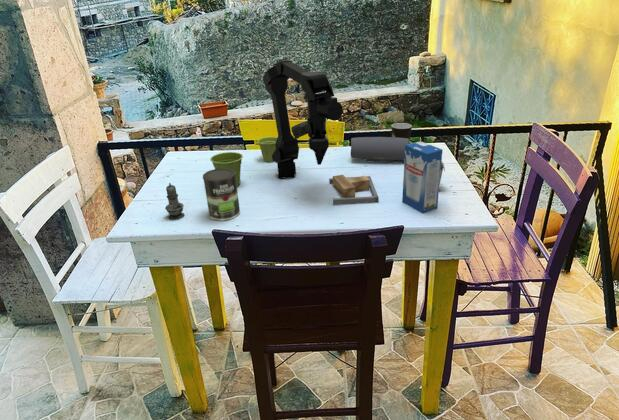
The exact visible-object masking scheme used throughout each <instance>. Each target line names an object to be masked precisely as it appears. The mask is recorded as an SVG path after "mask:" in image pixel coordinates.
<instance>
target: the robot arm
mask: <svg viewBox="0 0 619 420" xmlns="http://www.w3.org/2000/svg"><path fill="white" fill-rule="evenodd" d="M289 79H290V80H292V81H294V82H296V83H297V84H299V85H300V88H301V90H302V91H303V92H304V93H305V95H304V96H303V99H304V100H306V102H307V103H306V105H307V117H306V120H305V121H302V122H300V123H297V124H295V125H293V126H292V127H291V124H290V123H291V122H290V118H289V113H288V112H289V111H288V107H287V99H286V93H287V90H288V87H289V82H288V81H289ZM262 82H263V84H264V88H265V90H266V92H267V93H268V94H269V95H270V97H271V102H272V107H273V113H274V114H273V115H274V118H275V119H274V120H275V125H276V130H277V140H276V143H275V147H276V150H275V151H274V153H273V155H272V159H273V161H274V163H276V165H277V179H290V178H295V177H296V174H297V167H296V162H295V161H296V160H298V158H299V152H300V147H299V141H298V139H299V138H301V137H303V136H305V135H308V137H309V138H308V148H309V150H311V151H313V152H314V156H315V160H316V164H317V165H318V166H319V165H322V163H323V160H324V158H325V156H326V154H327V153H326V152H327V150H328V149H329V147H330V142H329V138H328V137H327V136H326V135H327V134H328V133H327V120H330V121H337V120H339V119H341V117H342V115H343V111H344V109H343V106H342V104H341V102H339V101H338V97H335V94H334V89H333V88H332V86H331V83H330V81H329V79H328V77H327V75H326V74H324V73H322V72H317V71H309V70H307V69H305V68H303V67H301V66H299V65H297V64H296V63H294V62H293V61H292V60H289V59H286V60H279V61H277V62H276V63H275V65H273V66H271V67H270V68H268V69H267V70H266V71H265V72H264V75H262Z"/></svg>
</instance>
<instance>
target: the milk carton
mask: <svg viewBox="0 0 619 420" xmlns="http://www.w3.org/2000/svg"><path fill="white" fill-rule="evenodd" d="M442 159H443V149H442V148H440V147H437V146H434V145H432V144H429V143H426V142H423V141H421V140H420V141H416V142H412V143H409V144H408V145H405V159H404V160H403V161H404V162H403V163H404V164H403V180H402V200H401V201H402V203H403V204H405V206H409V208H412V209H413V210H415V211H417V212H419V213H421V214H425V213H428V212H431V211H434V210H436V209H438V203H439V193H440V192H439V191H440V186H439V183H440V184H441V181H440V172H441V161H442ZM442 162H443V161H442Z"/></svg>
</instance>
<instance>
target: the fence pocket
mask: <svg viewBox="0 0 619 420" xmlns="http://www.w3.org/2000/svg"><path fill="white" fill-rule="evenodd" d="M365 176H366V175H365ZM345 177H346V176H345ZM354 177H355V176H350V177H346V178H347V179H348V178H354ZM366 177H367V178H368V179H369V180H370V190H369V191H370V193H371V196H369V195H368V196H355V197H351V198H342V197H339V198H338V197H337V198H336V197H334V198H332V205H333V206H337V205H339V206H340V205H353V204H354V205H355V204H357V203H358V204H369V203H371V204H373V203H379V201H380V200H379V198H380V197H379V195H378V192H377V190H376V187H375V185H374V182H373V180H372V177H371V176H370V175H367V176H366ZM328 183H329V185H333V177H331V178H328ZM358 204H357V205H358Z"/></svg>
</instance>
